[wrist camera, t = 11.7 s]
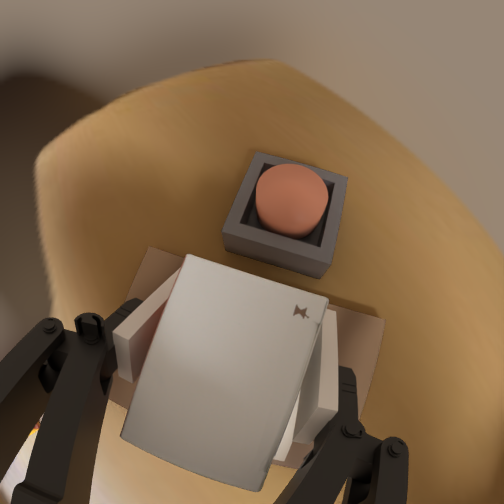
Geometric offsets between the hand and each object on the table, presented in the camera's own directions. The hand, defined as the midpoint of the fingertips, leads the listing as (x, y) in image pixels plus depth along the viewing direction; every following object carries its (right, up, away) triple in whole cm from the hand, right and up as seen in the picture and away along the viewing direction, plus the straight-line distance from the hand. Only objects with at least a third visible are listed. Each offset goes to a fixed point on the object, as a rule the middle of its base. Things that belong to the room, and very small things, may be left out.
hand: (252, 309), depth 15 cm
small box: (-1, -5, +4) cm, 6 cm away
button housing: (+3, +6, +9) cm, 11 cm away
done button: (+3, +6, +7) cm, 10 cm away
